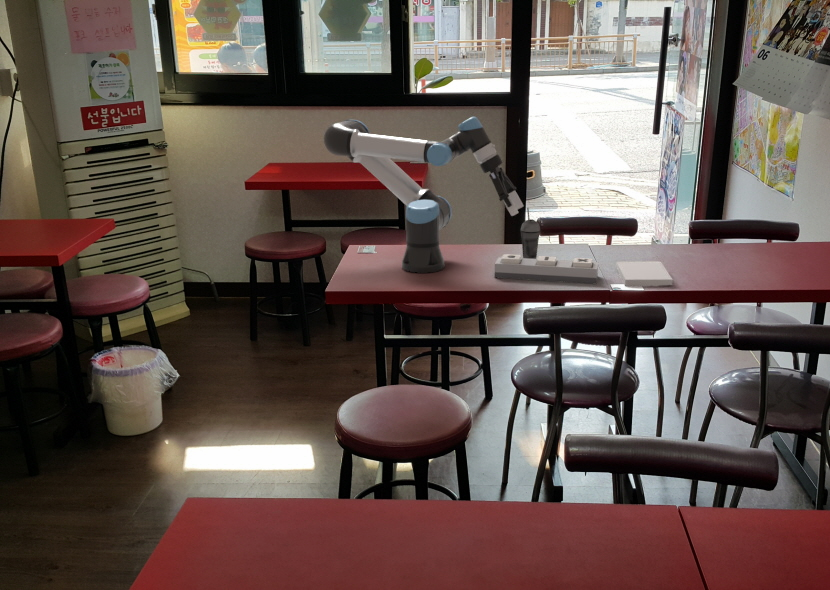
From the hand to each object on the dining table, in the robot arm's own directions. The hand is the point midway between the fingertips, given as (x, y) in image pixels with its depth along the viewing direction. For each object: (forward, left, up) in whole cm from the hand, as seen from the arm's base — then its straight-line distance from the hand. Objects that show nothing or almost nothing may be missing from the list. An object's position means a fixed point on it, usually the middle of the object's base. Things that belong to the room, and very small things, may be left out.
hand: (517, 211), depth 287 cm
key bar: (+12, -15, -15) cm, 25 cm away
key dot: (0, -15, -15) cm, 21 cm away
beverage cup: (+4, +4, -19) cm, 20 cm away
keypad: (+12, -15, -19) cm, 27 cm away
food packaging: (+44, -9, -20) cm, 49 cm away
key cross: (+24, -15, -15) cm, 32 cm away
